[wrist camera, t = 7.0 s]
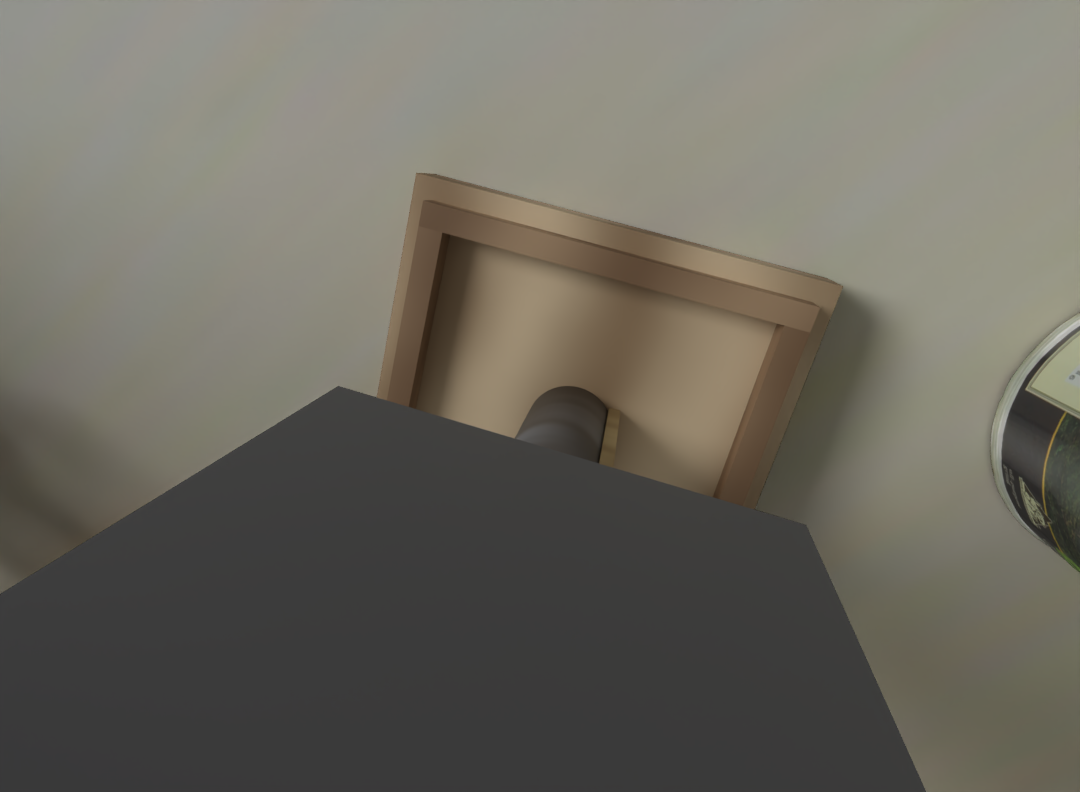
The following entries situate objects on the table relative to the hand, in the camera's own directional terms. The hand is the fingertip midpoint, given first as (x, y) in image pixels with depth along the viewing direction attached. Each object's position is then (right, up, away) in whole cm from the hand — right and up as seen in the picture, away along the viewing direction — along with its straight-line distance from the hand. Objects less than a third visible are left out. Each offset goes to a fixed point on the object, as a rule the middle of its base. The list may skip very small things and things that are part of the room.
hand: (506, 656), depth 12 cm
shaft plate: (+2, +4, +13) cm, 14 cm away
